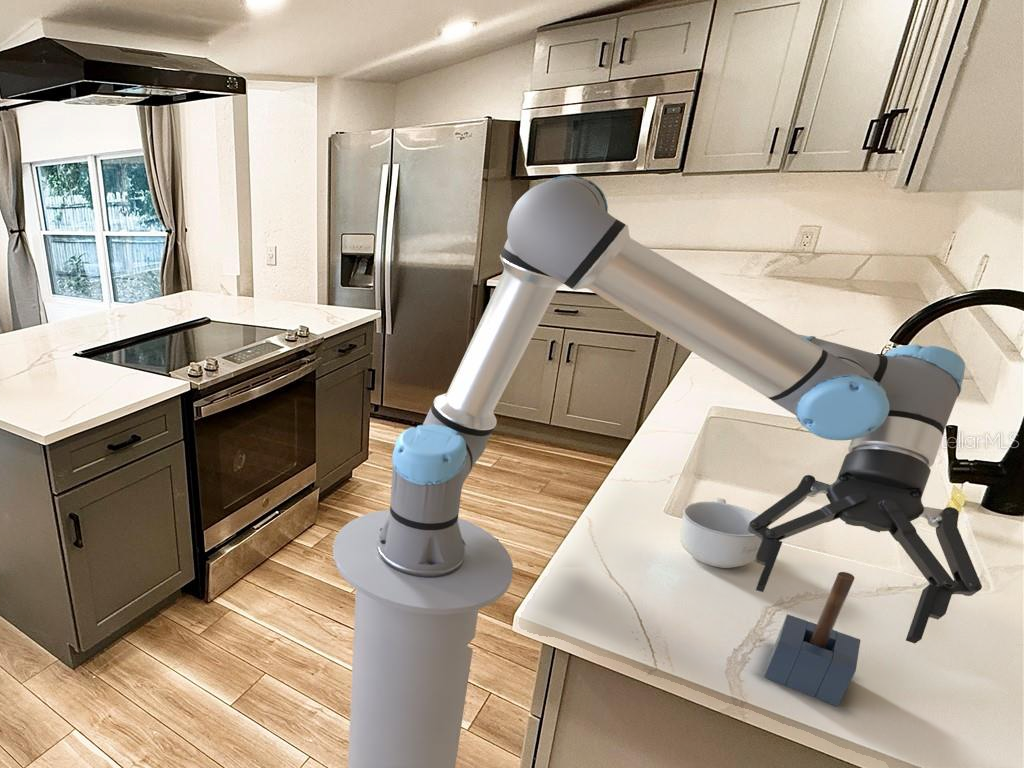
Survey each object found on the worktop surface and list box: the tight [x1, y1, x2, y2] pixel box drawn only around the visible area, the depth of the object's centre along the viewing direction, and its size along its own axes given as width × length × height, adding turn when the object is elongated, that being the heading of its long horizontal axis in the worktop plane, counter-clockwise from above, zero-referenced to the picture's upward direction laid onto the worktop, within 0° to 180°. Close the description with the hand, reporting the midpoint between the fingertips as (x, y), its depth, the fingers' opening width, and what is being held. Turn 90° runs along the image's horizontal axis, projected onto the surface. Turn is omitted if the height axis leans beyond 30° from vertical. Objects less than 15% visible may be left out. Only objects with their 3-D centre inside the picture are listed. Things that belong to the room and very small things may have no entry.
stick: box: [809, 571, 856, 648], centre depth 75 cm, size 1×1×17 cm
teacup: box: [679, 497, 769, 569], centre depth 102 cm, size 14×11×8 cm
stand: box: [764, 613, 861, 708], centre depth 78 cm, size 7×7×6 cm
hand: (831, 613), depth 74 cm, fingers open, 13 cm apart
